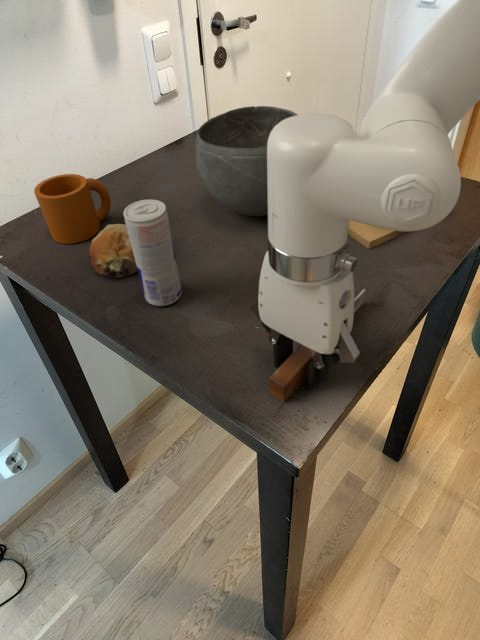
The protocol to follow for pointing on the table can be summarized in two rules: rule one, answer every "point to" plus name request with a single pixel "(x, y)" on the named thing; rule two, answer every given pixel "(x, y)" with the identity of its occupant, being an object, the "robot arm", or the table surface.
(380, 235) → the board
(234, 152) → the bowl
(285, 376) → the knife
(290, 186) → the robot arm
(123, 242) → the bread roll
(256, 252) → the table surface
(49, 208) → the mug
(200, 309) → the table surface
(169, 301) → the beverage can
